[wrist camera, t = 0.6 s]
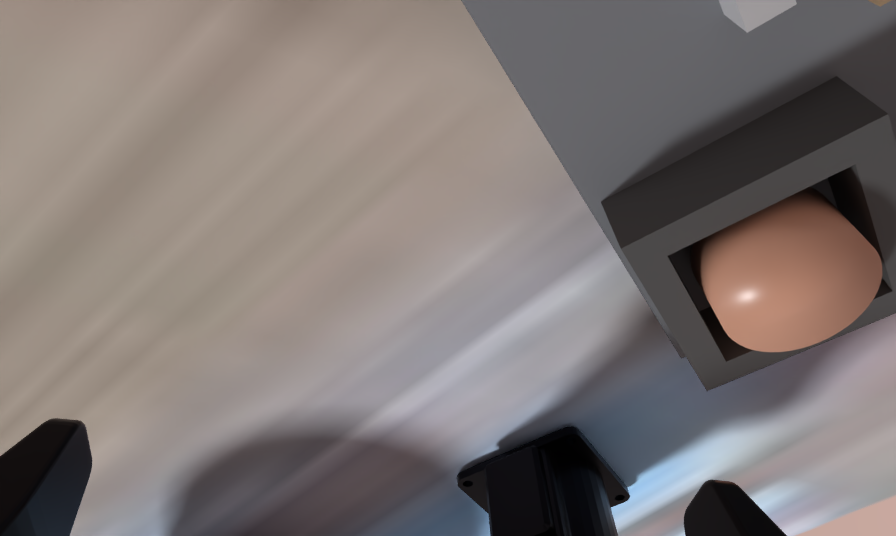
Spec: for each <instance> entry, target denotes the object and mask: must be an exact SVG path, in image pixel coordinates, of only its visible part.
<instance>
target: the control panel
mask: <svg viewBox="0 0 896 536" xmlns="http://www.w3.org/2000/svg"><path fill="white" fill-rule="evenodd" d="M461 1H462V2H463V4H464V5H465V7H466V9H467V10H468V12H469V14H470V15H471V17H472V18H473V20H474V22H475V23H476V25H477V27H478V28H479V30H480V32H481V33H482V35H483V36H484V38H485V40H486V41H487V43H488V45H489V46H490V48H491V49H492V51H493V53H494V54H495V56H496V58H497V59H498V61H499V62H500V64H501V66H502V67H503V69H504V71H505V72H506V74H507V75H508V77H509V79H510V80H511V82H512V84H513V85H514V87H515V88H516V90H517V92H518V93H519V95H520V97H521V98H522V100H523V102H524V103H525V105H526V106H527V108H528V110H529V111H530V113H531V115H532V116H533V118H534V119H535V121H536V123H537V124H538V126H539V128H540V129H541V131H542V132H543V134H544V136H545V137H546V139H547V141H548V142H549V144H550V145H551V147H552V149H553V150H554V152H555V154H556V155H557V157H558V158H559V160H560V162H561V163H562V165H563V167H564V168H565V170H566V171H567V173H568V175H569V176H570V178H571V180H572V181H573V183H574V185H575V186H576V188H577V189H578V191H579V193H580V194H581V196H582V198H583V199H584V201H585V202H586V204H587V206H588V207H589V209H590V211H591V212H592V214H593V215H594V217H595V219H596V220H597V222H598V224H599V225H600V227H601V228H602V230H603V232H604V233H605V235H606V237H607V238H608V240H609V241H610V243H611V245H612V246H613V248H614V250H615V251H616V253H617V254H618V256H619V258H620V259H621V261H622V263H623V264H624V266H625V268H626V269H627V271H628V272H629V274H630V276H631V277H632V279H633V281H634V282H635V284H636V285H637V287H638V289H639V290H640V292H641V294H642V295H643V297H644V298H645V300H646V302H647V303H648V305H649V307H650V308H651V310H652V311H653V313H654V315H655V316H656V318H657V320H658V321H659V323H660V324H661V326H662V328H663V329H664V331H665V333H666V334H667V336H668V337H669V339H670V341H671V342H672V344H673V346H674V347H675V349H676V351H677V352H678V354H679V355H680V357H681V358H684V357H687V359H688V361H689V362H690V364H691V365H692V367H693V369H694V370H695V372H696V374H697V375H698V377H699V379H700V380H701V382H702V384H703V385H704V387H705V389H706V390H707V391H708V390H711V389H713V388H716V387H718V386H721V385H723V384H725V383H728V382H730V381H733V380H735V379H737V378H740V377H742V376H745V375H747V374H750V373H752V372H754V371H757V370H759V369H762V368H764V367H766V366H769V365H771V364H774V363H776V362H779V361H781V360H783V359H786V358H788V357H791V356H793V355H795V354H798V353H800V352H803V351H805V350H808V349H810V348H812V347H815V346H817V345H820V344H822V343H825V342H827V341H829V340H832V339H834V338H837V337H839V336H841V335H844V334H846V333H849V332H851V331H854V330H856V329H858V328H861V327H863V326H866V325H868V324H870V323H873V322H875V321H878V320H880V319H883V318H885V317H887V316H890V315H892V314H895V313H896V0H891V1H890V2H888V3H886V4H884V5H882V6H881V7H880V6H878V5H876V4H874V3H872V2H870V1H868V0H461ZM808 187H811V188H813V189H816V190H817V191H819V192H820V193H822V194H823V195H824V196H825V197H826V198H827V199H828V200H829V201H830V202H831V203H832V204H833V205H834V206H835V207H836V208H837V209H838V210H839V211H840V212H841V214H842V215H843V216H844V217H845V218H846V219H847V220H848V221H849V222H850V223H851V224H852V225H853V226H854V227H855V228H856V229H857V230H858V231H859V232H860V233H861V234H862V235H863V236H864V237H865V239H866V240H867V241H868V242H869V243H870V244H871V245H872V246H873V247H874V248H875V250H876V251H877V252H878V254H879V256H880V259H881V263H882V279H881V284H880V286H879V289H878V291H877V293H876V295H875V297H874V299H873V300H872V302H871V303H870V305H869V306H868V307H867V308H866V310H865V311H864V312H863V313H862V314H861V315H860V316H859V317H858V318H857V319H856V320H855V321H854V322H852V323H851V324H850V325H849V326H847V327H846V328H844V329H843V330H841V331H840V332H838V333H837V334H835V335H833V336H831V337H830V338H828V339H826V340H823V341H821V342H819V343H816V344H814V345H811V346H808V347H804V348H801V349H797V350H792V351H785V352H761V351H756V350H752V349H748V348H745V347H743V346H741V345H739V344H738V343H736V342H735V341H733V340H732V339H731V338H730V337H729V336H728V335H727V333H726V332H725V330H724V329H723V327H722V325H721V323H720V322H719V320H718V318H717V316H716V314H715V313H714V311H713V309H712V307H711V305H710V303H709V302H708V300H707V298H706V296H705V294H704V293H703V291H702V289H701V287H700V285H699V284H698V282H697V280H696V278H695V276H694V274H693V271H692V268H691V261H690V256H691V249H692V245H693V243H695V242H697V241H699V240H701V239H703V238H705V237H707V236H709V235H711V234H714V233H716V232H718V231H720V230H722V229H724V228H726V227H728V226H730V225H732V224H734V223H736V222H738V221H740V220H742V219H744V218H746V217H748V216H750V215H752V214H754V213H757V212H759V211H761V210H763V209H765V208H767V207H769V206H771V205H773V204H775V203H777V202H779V201H781V200H783V199H785V198H787V197H789V196H791V195H793V194H795V193H797V192H799V191H802V190H804V189H806V188H808Z"/></svg>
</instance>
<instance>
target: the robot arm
mask: <svg viewBox="0 0 896 536" xmlns="http://www.w3.org/2000/svg"><path fill="white" fill-rule="evenodd" d="M91 468H92V455H91V450H90V445H89V440H88V435H87V430H86V427H85V424H84V423H83V422H82V421H78V420H69V419H58V418H55V419H50V420H48V421H46V422H44V423H43V424H41V425H40V426H39V427H38V428H36V429H35V430H34V431H32V432H31V433H30V434H29V435H27V436H26V437H25V438H23V439H22V440H21V441H19V442H18V443H17V444H16V445H14V446H13V447H12V448H10V449H9V450H8V451H7V452H5V453H4V454H3V455H1V456H0V536H70V533H71V530H72V527H73V524H74V521H75V518H76V515H77V512H78V509H79V506H80V503H81V500H82V497H83V494H84V491H85V489H86V486H87V483H88V480H89V477H90V473H91ZM457 481H458V486H459V488H460V489H461V490H463V491H464V492H465V493H466V494H467V495H468V496H469V497H470V498H472V499H473V500H474V501H475V502H476V503H477V504H478V505H479V506H481V507H482V508H483V509H484V510H485V511H486V512H487V513H488V514H489V524H490V534H491V536H618V534H617V530H616V526H615V522H614V519H613V515H612V511H611V507H613V506H616V505H618V504H621V503H624V502H626V501H627V500H628V499H629V498H630V495H629V492H628V488H627V487H626V485H625V484H624V483H623V482H622V481H621V479H620V478H619V477H618V476H617V475H616V474H615V472H614V471H613V470H612V469H611V468H610V466H609V465H608V464H607V463H606V462H605V460H604V459H603V458H602V457H601V456H600V454H599V453H598V452H597V451H596V450H595V449H594V447H593V446H592V445H591V444H590V443H589V441H588V440H587V439H586V438H585V437H584V435H583V434H582V433H581V432H580V431H579V430H578V429H577V428H575V427H566V428H563V429H561V430H559V431H556V432H554V433H552V434H549V435H547V436H544V437H542V438H540V439H537V440H535V441H533V442H530V443H528V444H526V445H523V446H521V447H519V448H516V449H514V450H512V451H509V452H507V453H504V454H502V455H500V456H497V457H495V458H493V459H490V460H488V461H486V462H483V463H481V464H479V465H476V466H474V467H472V468H469V469H467V470H465V471H462V472H460V473H459V474H458V476H457ZM684 528H685V535H686V536H787V535H786V534H785V533H784V532H783V531H782V530H781V529H780V528H779V527H778V526H777V525H776V524H775V523H774V522H773V521H772V520H771V519H770V518H769V517H768V516H767V515H766V514H765V513H764V512H763V511H762V510H761V509H760V508H759V507H758V506H757V505H756V503H755V502H754V501H753V500H752V499H751V498H750V497H749V496H748V495H747V494H746V493H745V492H744V491H743V490H742V489H741V488H740V487H739V486H738V485H736V484H735V483H733V482H729V481H720V480H708V481H706V482H705V483H704V484H703V485H702V486H701V488H700V489H699V491H698V492H697V494H696V495H695V497H694V498H693V500H692V501H691V503H690V504H689V506H688V507H687V509H686V511H685V515H684Z"/></svg>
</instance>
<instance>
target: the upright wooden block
mask: <svg viewBox="0 0 896 536" xmlns="http://www.w3.org/2000/svg"><path fill="white" fill-rule="evenodd" d="M868 1H870V2H872V3H874V4H876V5H878V6H880V7H881V6H882V5H884V4H886V3H888V2H890V1H891V0H868Z"/></svg>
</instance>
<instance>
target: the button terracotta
mask: <svg viewBox="0 0 896 536" xmlns="http://www.w3.org/2000/svg"><path fill="white" fill-rule="evenodd" d="M690 261H691V268H692V271H693V274H694V276H695V278H696V280H697V282H698V284H699V285H700V287H701V289H702V291H703V293H704V294H705V296H706V298H707V300H708V302H709V303H710V305H711V307H712V309H713V311H714V313H715V314H716V316H717V318H718V320H719V322H720V323H721V325H722V327H723V329H724V330H725V332H726V333H727V335H728V336H729V337H730V338H731V339H732V340H733V341H735V342H736V343H738V344H739V345H741V346H743V347H745V348H748V349H752V350H756V351H761V352H785V351H792V350H797V349H801V348H804V347H808V346H811V345H814V344H816V343H819V342H821V341H823V340H826V339H828V338H830V337H831V336H833V335H835V334H837V333H838V332H840V331H841V330H843V329H844V328H846V327H847V326H849V325H850V324H851V323H852V322H854V321H855V320H856V319H857V318H858V317H859V316H860V315H861V314H862V313H863V312H864V311H865V310H866V308H867V307H868V306H869V305H870V303H871V302H872V300H873V299H874V297H875V295H876V293H877V291H878V289H879V286H880V284H881V279H882V263H881V259H880V256H879V254H878V252H877V251H876V250H875V248H874V247H873V246H872V245H871V244H870V243H869V242H868V241H867V240H866V239H865V237H864V236H863V235H862V234H861V233H860V232H859V231H858V230H857V229H856V228H855V227H854V226H853V225H852V224H851V223H850V222H849V221H848V220H847V219H846V218H845V217H844V216H843V215H842V214H841V212H840V211H839V210H838V209H837V208H836V207H835V206H834V205H833V204H832V203H831V202H830V201H829V200H828V199H827V198H826V197H825V196H824V195H823V194H822V193H820V192H819V191H817V190H816V189H813V188H811V187H808V188H806V189H804V190H802V191H799V192H797V193H795V194H793V195H791V196H789V197H787V198H785V199H783V200H781V201H779V202H777V203H775V204H773V205H771V206H769V207H767V208H765V209H763V210H761V211H759V212H757V213H754V214H752V215H750V216H748V217H746V218H744V219H742V220H740V221H738V222H736V223H734V224H732V225H730V226H728V227H726V228H724V229H722V230H720V231H718V232H716V233H714V234H711V235H709V236H707V237H705V238H703V239H701V240H699V241H697V242H695V243H693V245H692V249H691V256H690Z"/></svg>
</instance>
